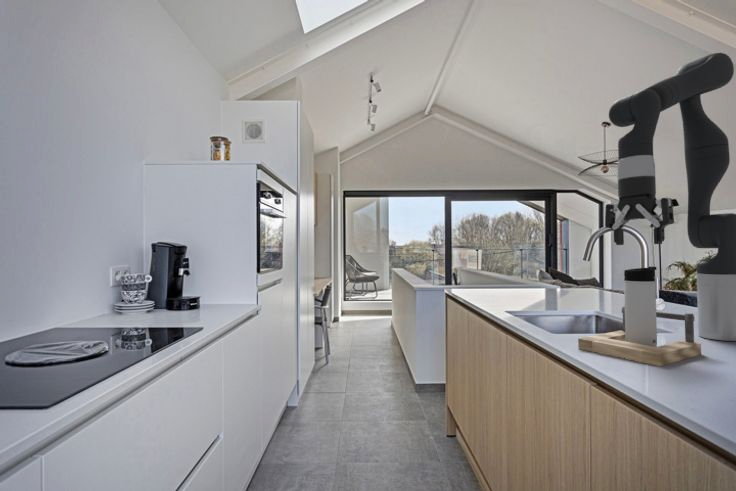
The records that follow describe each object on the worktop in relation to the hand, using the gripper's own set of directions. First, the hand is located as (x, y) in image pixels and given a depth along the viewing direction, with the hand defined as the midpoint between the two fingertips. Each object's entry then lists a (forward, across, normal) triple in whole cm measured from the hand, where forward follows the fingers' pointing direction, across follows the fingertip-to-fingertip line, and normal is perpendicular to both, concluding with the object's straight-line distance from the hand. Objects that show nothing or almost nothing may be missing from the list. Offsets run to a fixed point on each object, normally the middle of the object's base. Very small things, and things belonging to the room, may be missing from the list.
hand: (638, 244), depth 97 cm
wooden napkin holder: (+25, 0, +2) cm, 25 cm away
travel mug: (+26, 0, 0) cm, 26 cm away
